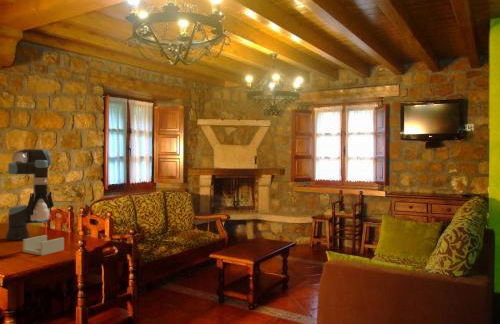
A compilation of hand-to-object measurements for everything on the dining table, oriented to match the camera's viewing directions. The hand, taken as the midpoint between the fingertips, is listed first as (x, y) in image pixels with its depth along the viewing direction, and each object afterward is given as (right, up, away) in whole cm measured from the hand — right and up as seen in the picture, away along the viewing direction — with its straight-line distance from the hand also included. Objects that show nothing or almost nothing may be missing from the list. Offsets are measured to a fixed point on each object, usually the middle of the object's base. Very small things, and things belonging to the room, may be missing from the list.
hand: (40, 219), depth 260 cm
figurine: (0, -2, 0) cm, 2 cm away
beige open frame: (+2, -20, +1) cm, 21 cm away
